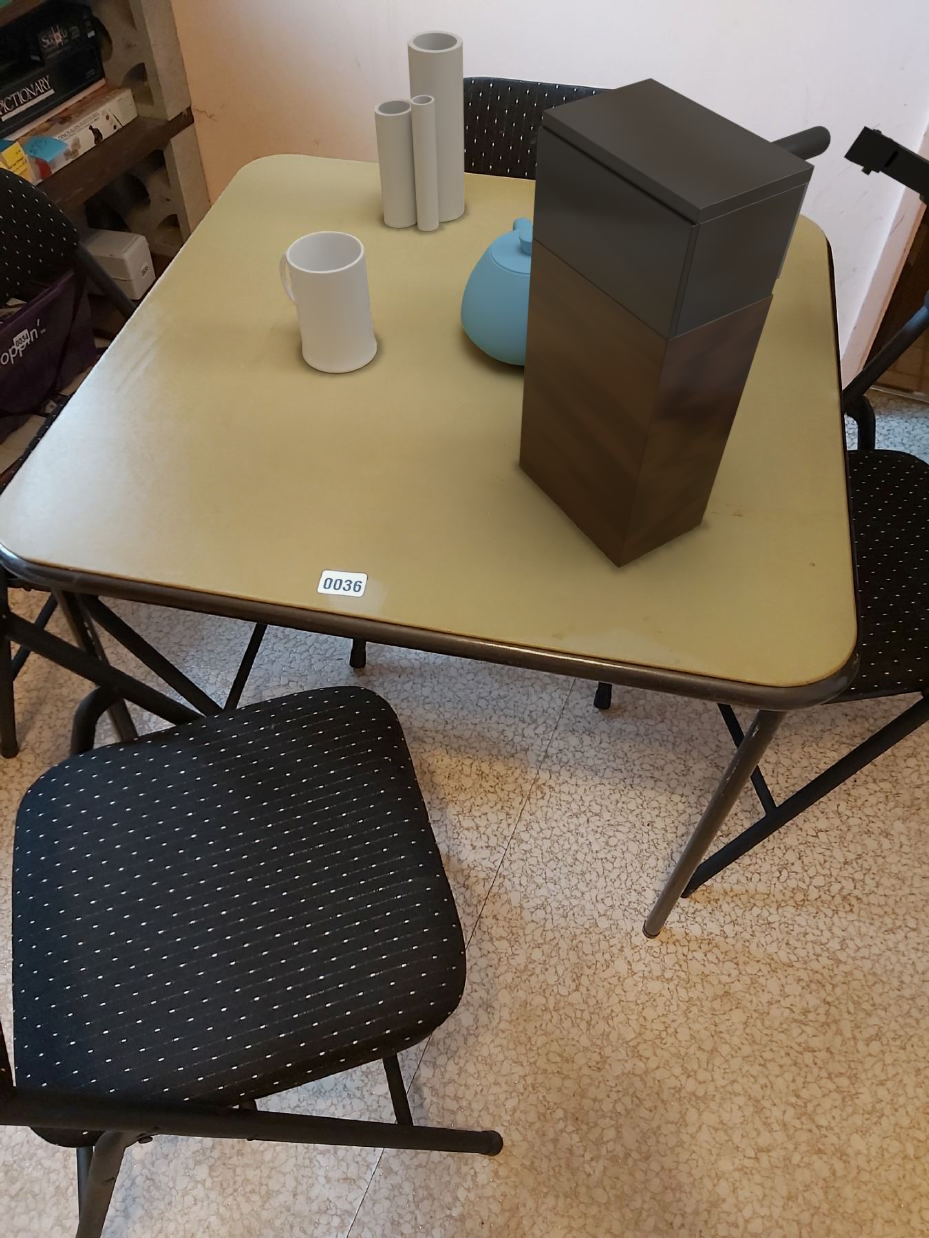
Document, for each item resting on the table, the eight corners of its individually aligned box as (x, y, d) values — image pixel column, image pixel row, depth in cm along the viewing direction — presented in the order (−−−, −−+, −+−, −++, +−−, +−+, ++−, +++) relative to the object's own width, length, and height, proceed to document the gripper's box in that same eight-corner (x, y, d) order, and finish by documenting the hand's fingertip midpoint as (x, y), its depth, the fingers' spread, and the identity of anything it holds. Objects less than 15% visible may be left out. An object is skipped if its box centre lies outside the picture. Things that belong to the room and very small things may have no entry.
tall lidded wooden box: (597, 429, 87) (650, 77, 61) (701, 524, 79) (815, 165, 53) (518, 465, 84) (539, 111, 58) (618, 568, 76) (695, 210, 50)
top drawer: (744, 164, 71) (768, 69, 65) (874, 238, 64) (914, 138, 58) (558, 232, 65) (566, 133, 59) (678, 321, 58) (701, 219, 52)
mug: (268, 341, 97) (246, 242, 87) (323, 308, 101) (307, 210, 91) (337, 383, 92) (321, 284, 83) (392, 348, 96) (383, 249, 86)
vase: (445, 192, 117) (440, 26, 101) (476, 213, 114) (476, 45, 98) (377, 218, 113) (361, 49, 97) (406, 240, 110) (395, 69, 94)
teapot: (453, 293, 102) (451, 189, 92) (614, 283, 104) (629, 179, 93) (470, 397, 91) (469, 291, 81) (651, 384, 92) (673, 277, 82)
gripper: (1065, 319, 82) (1002, 307, 68) (873, 189, 93) (783, 155, 78) (1134, 248, 78) (1082, 218, 64) (924, 119, 88) (838, 68, 74)
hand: (917, 183), depth 71 cm, fingers open, 13 cm apart
